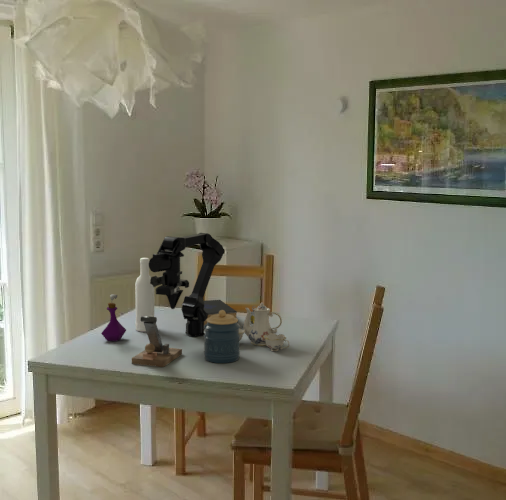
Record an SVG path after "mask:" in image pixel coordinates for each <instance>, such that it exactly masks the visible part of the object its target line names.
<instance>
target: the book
mask: <svg viewBox="0 0 506 500" xmlns="http://www.w3.org/2000/svg"><path fill="white" fill-rule="evenodd" d="M220 310H224V311H225V312H226V314H229V315H233V316H234V317H235V318H237V313H238V311H237V310H236V309H234V308H232V307H231V306H229V304H227V303H226V302H224V301H222V300H221V299H210V300H209V299H208V300H204V311H205V312H206V313H207V314H208V318H209V317H210V316H211V315H215V314H219V311H220ZM205 324H207V321H206V320H205V321H204V325H205Z"/></svg>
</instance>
